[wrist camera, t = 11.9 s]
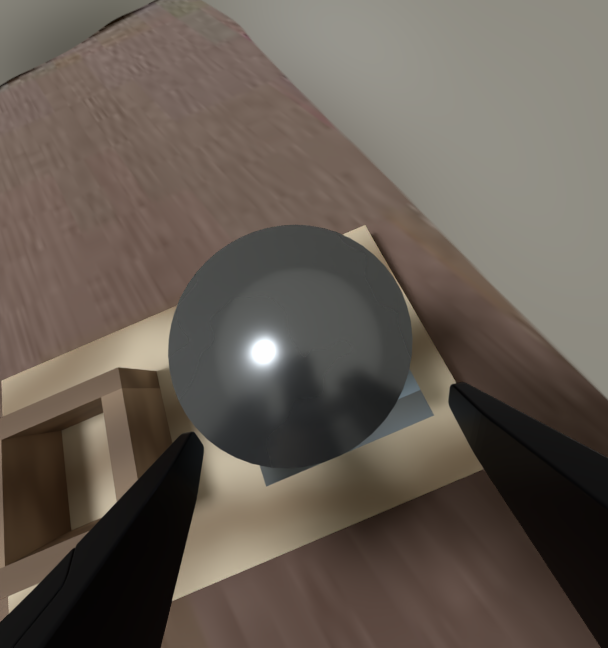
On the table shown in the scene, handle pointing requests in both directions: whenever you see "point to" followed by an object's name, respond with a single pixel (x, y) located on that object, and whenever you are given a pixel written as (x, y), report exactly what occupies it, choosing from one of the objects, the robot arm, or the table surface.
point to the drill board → (217, 467)
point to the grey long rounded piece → (290, 346)
